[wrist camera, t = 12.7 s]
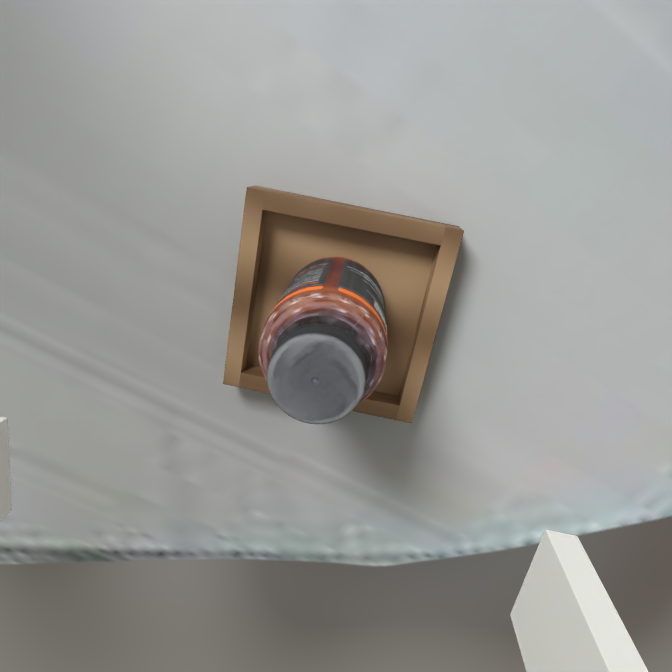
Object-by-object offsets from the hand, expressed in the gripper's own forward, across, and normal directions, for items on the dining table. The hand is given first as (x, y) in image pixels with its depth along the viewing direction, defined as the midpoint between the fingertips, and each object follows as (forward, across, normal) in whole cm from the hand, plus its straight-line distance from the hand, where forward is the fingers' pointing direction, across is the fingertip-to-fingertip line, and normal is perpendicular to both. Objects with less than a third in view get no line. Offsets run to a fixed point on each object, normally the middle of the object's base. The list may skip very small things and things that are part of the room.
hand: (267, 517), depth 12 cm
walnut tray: (+20, 0, 0) cm, 20 cm away
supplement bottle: (+20, 0, 0) cm, 20 cm away
